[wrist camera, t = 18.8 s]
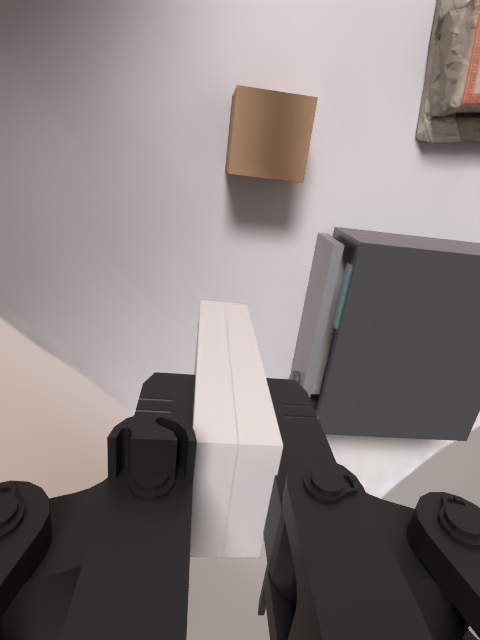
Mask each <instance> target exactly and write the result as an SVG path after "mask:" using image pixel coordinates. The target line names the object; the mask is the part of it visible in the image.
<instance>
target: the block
mask: <svg viewBox="0 0 480 640" xmlns="http://www.w3.org/2000/svg"><path fill="white" fill-rule="evenodd" d="M317 98H318V97H312V96H305V95H298V94H292V93H285V92H279V91H272V90H265V89H259V88H252V87H246V86H239V85H237V86H236V89H235V91H234V94H233V96H232V105H231V115H230V125H229V136H228V146H227V156H226V166H225V171H226V172H227V173H228V174H235V175H243V176H251V177H259V178H267V179H275V180H283V181H291V182H299V183H303V179H304V173H305V168H306V162H307V156H308V150H309V145H310V139H311V133H312V127H313V121H314V116H315V110H316V104H317Z"/></svg>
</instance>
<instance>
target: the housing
mask: <svg viewBox="0 0 480 640" xmlns="http://www.w3.org/2000/svg"><path fill="white" fill-rule="evenodd" d="M333 237H334V238H336V239H337V240H338V241H340V242H341V243H343V244H344V245H346V246H347V247H349V248H350V249H352V250H353V254H352V258H351V262H347V263H346V267H345V271H344V276H343V280H342V284H341V289H340V293H339V297H338V301H337V306H336V310H335V314H334V319H333V323H332V325H333V326H334V328H335V330H334V334H333V338H332V343H331V347H330V351H329V355H328V360H327V364H326V368H325V372H324V377H323V381H322V385H321V389H320V393H319V394H311V396H310V400H311V402H312V405H313V408H314V409H315V412H316V414H317V420H319V422H320V424H321V426H322V429H323V431H324V434H333V435H354V436H375V437H396V438H416V439H437V440H458V441H467V439H468V436H469V434H470V432H471V429H472V427H473V425H474V422H475V420H476V418H477V416H478V413H479V411H480V243H472V242H463V241H455V240H446V239H437V238H428V237H419V236H410V235H401V234H392V233H383V232H375V231H366V230H357V229H348V228H339V227H335V229H334V234H333Z"/></svg>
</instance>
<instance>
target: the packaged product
mask: <svg viewBox="0 0 480 640" xmlns="http://www.w3.org/2000/svg"><path fill="white" fill-rule="evenodd" d="M416 138H417V140H421V141H426V142H433V143H446V142H480V0H437V4H436V10H435V16H434V22H433V29H432V35H431V41H430V47H429V53H428V59H427V67H426V76H425V83H424V88H423V94H422V100H421V106H420V113H419V120H418V127H417V134H416Z"/></svg>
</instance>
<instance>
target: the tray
mask: <svg viewBox="0 0 480 640" xmlns="http://www.w3.org/2000/svg"><path fill="white" fill-rule="evenodd" d="M352 254H353V250H352V249H350V248H349V247H347V246H346V245H344V244H343V243H341V242H339V241H338V240H336V239H335V238H333V237H332V236H330V235H329V234H326V233H318V237H317V242H316V247H315V252H314V257H313V263H312V268H311V273H310V278H309V283H308V288H307V293H306V298H305V303H304V308H303V313H302V318H301V323H300V328H299V333H298V339H297V344H296V349H295V354H294V359H293V364H292V369H291V374H290V379H289V380H295V381H296V382H297V383H298V384H299V385H301V386H302V387H303V388H304V389H305V390H306V391H307V392H308V395H309V397H310V396H311V394H319V393H320V389H321V385H322V381H323V377H324V372H325V368H326V364H327V360H328V355H329V351H330V347H331V343H332V338H333V334H334V330H335V328H334V326H333V325H332V323H333V319H334V314H335V310H336V306H337V301H338V297H339V293H340V289H341V284H342V280H343V276H344V271H345V267H346V263H347V262H351V258H352Z"/></svg>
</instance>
